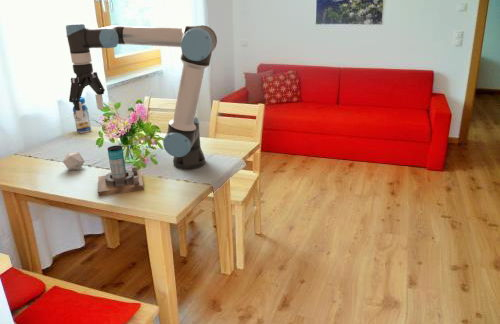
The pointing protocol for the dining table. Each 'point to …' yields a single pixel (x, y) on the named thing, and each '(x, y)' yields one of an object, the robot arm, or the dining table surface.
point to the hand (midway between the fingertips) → (90, 113)
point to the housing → (120, 183)
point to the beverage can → (117, 162)
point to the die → (73, 161)
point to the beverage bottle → (82, 123)
